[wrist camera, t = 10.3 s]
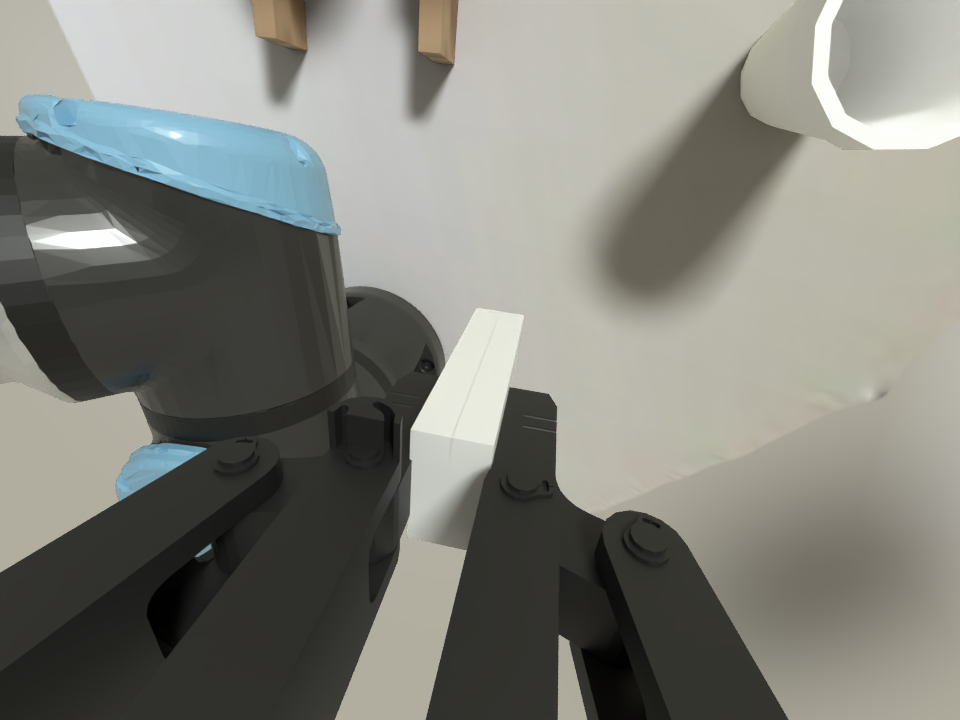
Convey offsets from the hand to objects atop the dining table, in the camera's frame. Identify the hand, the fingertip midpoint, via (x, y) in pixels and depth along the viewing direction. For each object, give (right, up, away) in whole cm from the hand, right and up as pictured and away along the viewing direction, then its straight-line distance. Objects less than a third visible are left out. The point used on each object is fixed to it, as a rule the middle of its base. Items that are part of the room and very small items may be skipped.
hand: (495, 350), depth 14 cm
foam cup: (+20, +19, +15) cm, 31 cm away
